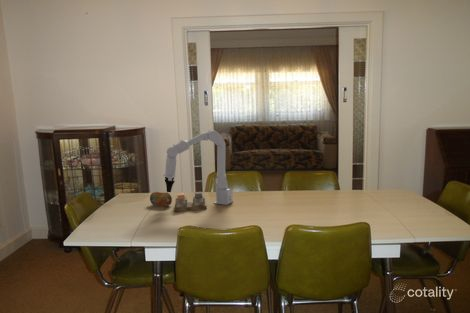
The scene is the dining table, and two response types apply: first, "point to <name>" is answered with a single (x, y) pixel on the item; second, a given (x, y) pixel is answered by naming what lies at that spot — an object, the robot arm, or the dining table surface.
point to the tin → (160, 199)
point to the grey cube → (198, 195)
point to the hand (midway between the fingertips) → (168, 190)
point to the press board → (190, 204)
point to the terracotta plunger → (181, 196)
